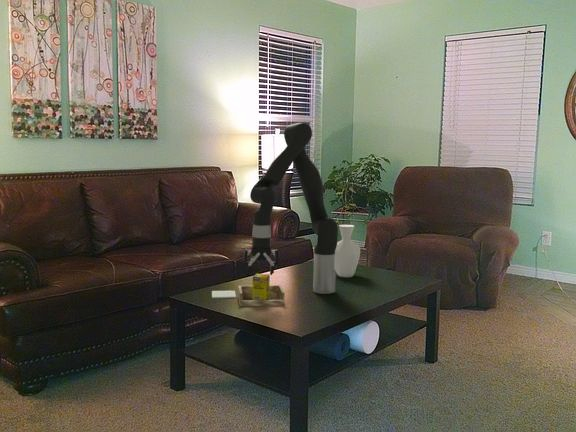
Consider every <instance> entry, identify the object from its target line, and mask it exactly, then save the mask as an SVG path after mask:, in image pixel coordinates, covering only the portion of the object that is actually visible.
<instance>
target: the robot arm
mask: <svg viewBox="0 0 576 432" xmlns="http://www.w3.org/2000/svg"><path fill="white" fill-rule="evenodd" d="M283 136H284V141H285V144H286V147H285V148H284V149H283V150H282V152H281V153H279V155H277V156H276V157H275V158H274V159H273V160H272V162H271V163H270V165H269V166H268V169H267V171H266V172H265V173H264V175H263V176H261V178H260V179H259V180H258V181H257V182H256V183H255V184H254V186H253V187H252V188H251V191H250V194H249V195H250V196H249V197H250V200H251V201H252V202H253V203H255V204H258V205H260V206H259V209H256V210H255V211H253V219H252V220H253V221H252V234H251V235H252V237H251V238H252V240H251V249H247V248H245V249H244V253H243V260H242V261H243V265H246V266H247V273H248V274H249V275H250V276H252V270H253V269H252V265H253V263H255V261H266V260H267V261H268V263H269V264H270V265H269V275H271V276H272V275H273V274H275V273H274V272H275V266H276V265H279V250H278V248H276V249H272V248H271V247H272V245H271V243H272V241H271V240H272V229H271V228H272V227H271V216H272V213H273V208H274V204H275V202H276V201H275V200H276V194H275V191H274V189H273V188H275V187H278V186H279V185H280V183H281V182H282V180H283V178H284V177H285V175H286V173H287V171H288V170H289V168H290V167H291V165H292V164H294V167H295V170H296V174H297V176H298V181H299V184H300V188H301V191H302V193H303V196H304V200H305V202H306V206H307V208H308V212H309V217H310V222H311V228H312V231H313V233H314V234H315V235H316V236H317V238H316V241H317V242H316V245H315V246H314V248H313V276H312V277H313V279H312V283H313V284H312V292H314V293H316V294H320V295H321V294H322V295H326V294H327V295H328V294H333V293H334V294H335V293H336V277H337V272H336V271H335V249H336V247H337V243H338V234H339V231H338V230H339V228H338V227H339V225H338V223H337V222H336V221H335V219H334V218H331V217H329V215H328V213H327V210H326V207H325V202H324V185H323V180H322V177H321V174H320V171H319V169H318V168H317V166H316V165H315V164H314V162H313V161H312V160H311V159H310V157H309V156H308V153H307V151H306V148H305V147H306V146H307V145H308V144H309V143H310V141H311V139H312V136H313V131H312V128H311V126H310V125H309V124H308V123H306V122H297V123H293V124H289V125H287V126H286V127H285V129H284V132H283ZM250 254H251V255H252V257H251V258H250V259H249V260H248V256H249V255H250ZM271 254H272V255H273V256H274V261H273V260H272V259H271V258H270V256H271Z"/></svg>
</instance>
